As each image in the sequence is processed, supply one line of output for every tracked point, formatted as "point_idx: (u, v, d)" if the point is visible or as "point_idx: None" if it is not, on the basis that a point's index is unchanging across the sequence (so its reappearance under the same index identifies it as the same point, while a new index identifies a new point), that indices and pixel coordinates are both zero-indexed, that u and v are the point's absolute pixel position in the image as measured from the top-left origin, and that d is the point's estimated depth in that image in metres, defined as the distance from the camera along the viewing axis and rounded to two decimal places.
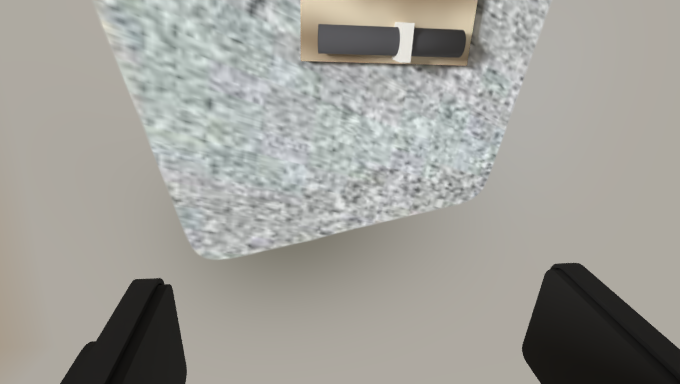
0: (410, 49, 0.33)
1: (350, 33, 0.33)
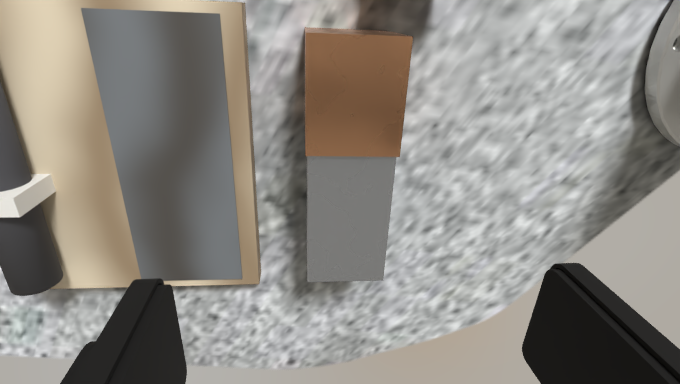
0: None
1: None
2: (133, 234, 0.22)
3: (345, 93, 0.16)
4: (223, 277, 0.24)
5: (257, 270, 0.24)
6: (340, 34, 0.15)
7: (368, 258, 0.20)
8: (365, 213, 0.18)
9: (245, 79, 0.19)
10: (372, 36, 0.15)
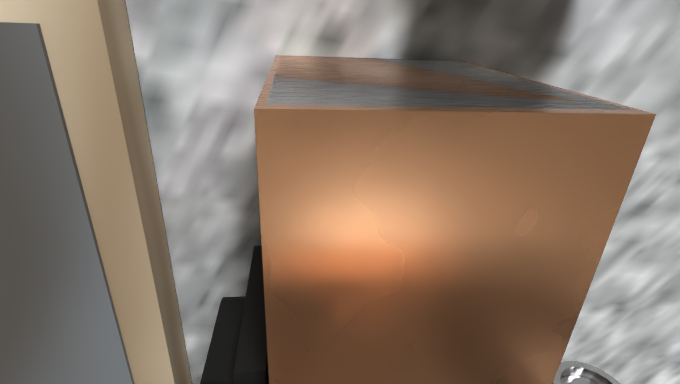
0: None
1: None
2: None
3: (399, 293, 0.05)
4: None
5: None
6: (392, 111, 0.04)
7: None
8: None
9: (132, 181, 0.08)
10: (513, 117, 0.04)
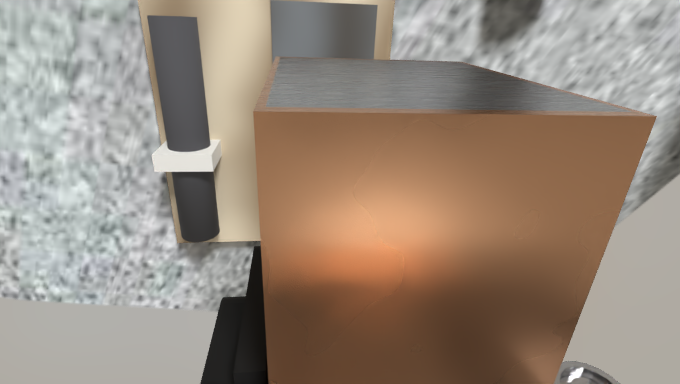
0: (174, 169, 0.22)
1: (185, 71, 0.20)
2: None
3: (399, 296, 0.05)
4: None
5: None
6: (391, 113, 0.04)
7: None
8: None
9: (389, 59, 0.23)
10: (513, 119, 0.04)
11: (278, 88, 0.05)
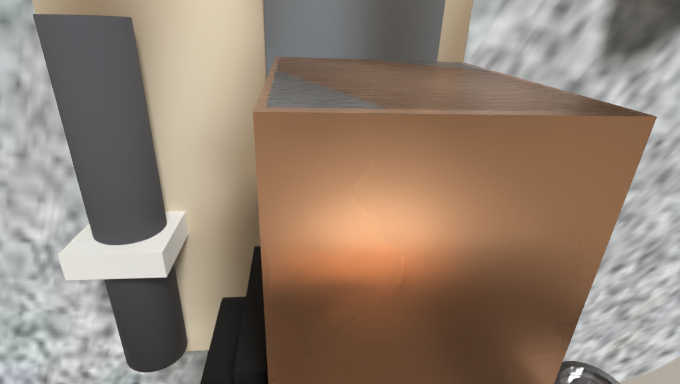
0: (100, 276, 0.13)
1: (110, 115, 0.11)
2: None
3: (399, 296, 0.05)
4: None
5: None
6: (391, 114, 0.04)
7: None
8: None
9: None
10: (513, 120, 0.04)
11: (278, 88, 0.05)
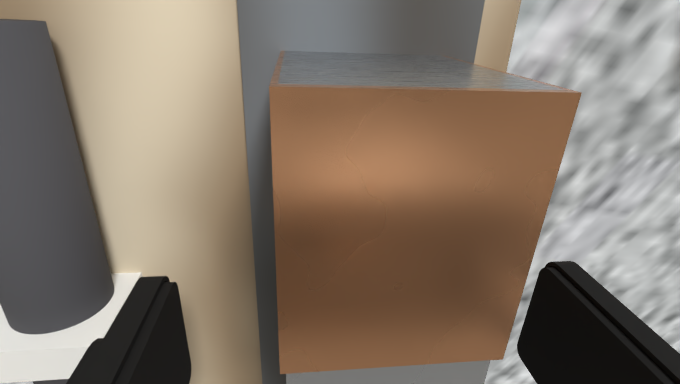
0: (13, 378, 0.09)
1: (12, 164, 0.08)
2: (263, 354, 0.14)
3: (383, 239, 0.06)
4: None
5: None
6: (374, 89, 0.05)
7: None
8: None
9: None
10: (468, 94, 0.05)
11: (286, 72, 0.06)
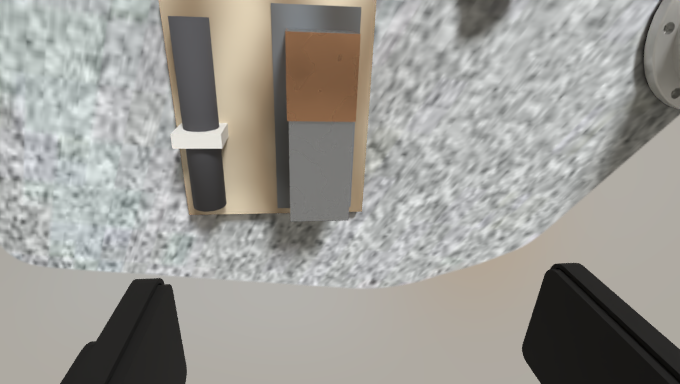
0: (189, 146, 0.25)
1: (199, 63, 0.24)
2: (277, 170, 0.30)
3: (314, 74, 0.22)
4: None
5: (361, 200, 0.32)
6: (309, 32, 0.21)
7: (336, 202, 0.26)
8: (332, 165, 0.25)
9: (372, 53, 0.27)
10: (332, 34, 0.21)
11: (288, 30, 0.22)
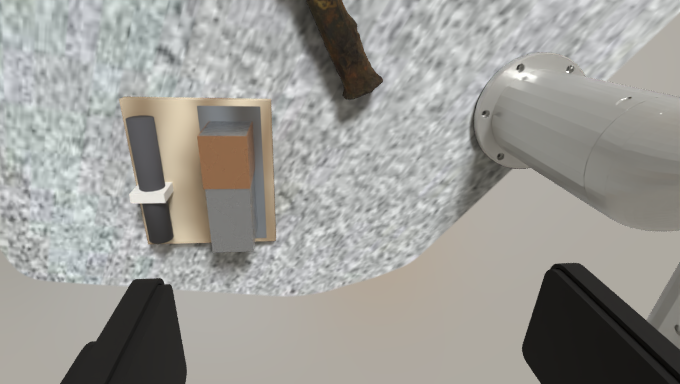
0: (142, 202, 0.37)
1: (147, 148, 0.36)
2: None
3: (219, 161, 0.34)
4: (256, 237, 0.44)
5: (274, 233, 0.44)
6: (213, 136, 0.33)
7: (243, 239, 0.38)
8: (238, 216, 0.37)
9: (271, 135, 0.39)
10: (228, 137, 0.33)
11: (202, 132, 0.34)
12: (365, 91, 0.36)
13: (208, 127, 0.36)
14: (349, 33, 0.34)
